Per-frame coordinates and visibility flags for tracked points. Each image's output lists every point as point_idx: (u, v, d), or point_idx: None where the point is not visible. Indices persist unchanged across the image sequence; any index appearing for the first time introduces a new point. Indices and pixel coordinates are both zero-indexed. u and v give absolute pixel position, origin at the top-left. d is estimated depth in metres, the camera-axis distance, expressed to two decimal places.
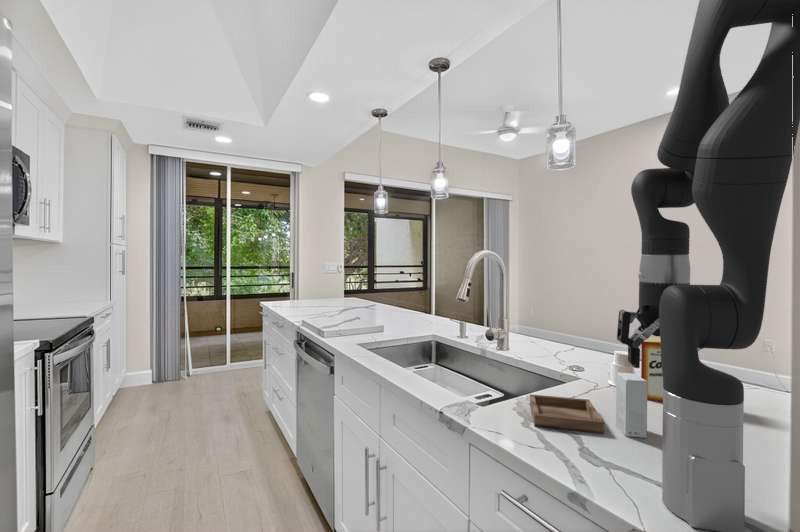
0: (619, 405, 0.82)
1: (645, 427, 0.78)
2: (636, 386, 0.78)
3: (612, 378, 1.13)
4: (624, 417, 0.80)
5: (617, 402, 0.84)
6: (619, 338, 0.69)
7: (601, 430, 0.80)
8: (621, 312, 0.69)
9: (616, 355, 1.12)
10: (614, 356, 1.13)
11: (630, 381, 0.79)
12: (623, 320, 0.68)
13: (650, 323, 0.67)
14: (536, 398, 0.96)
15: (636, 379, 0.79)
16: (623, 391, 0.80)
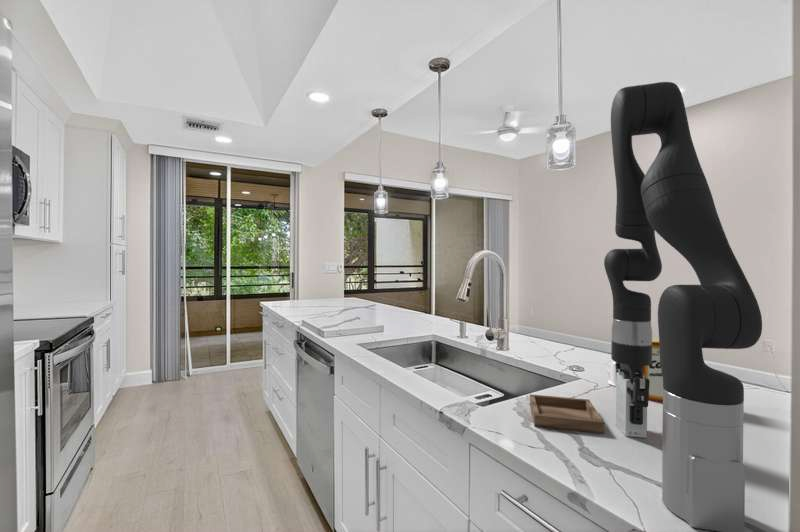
0: (619, 405, 0.82)
1: (645, 427, 0.78)
2: None
3: (612, 378, 1.13)
4: (624, 417, 0.80)
5: (617, 402, 0.84)
6: (642, 403, 0.75)
7: (601, 430, 0.80)
8: (642, 381, 0.75)
9: None
10: None
11: None
12: (648, 387, 0.75)
13: None
14: (536, 398, 0.96)
15: None
16: (623, 391, 0.80)
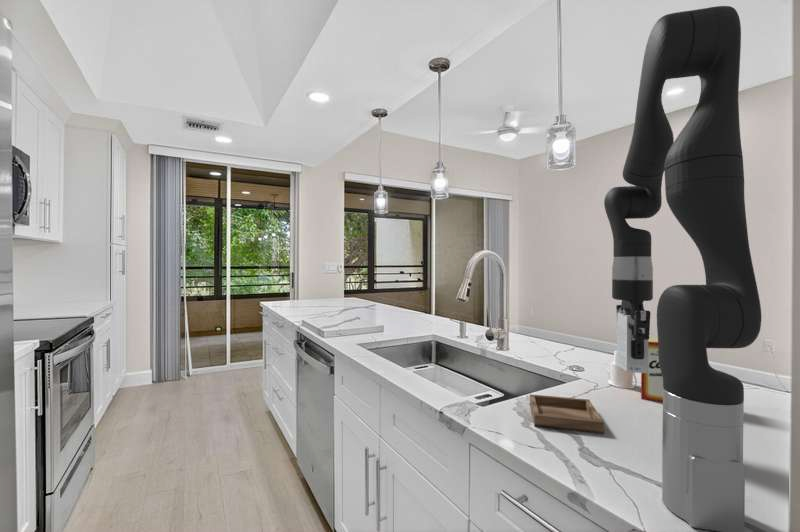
0: (620, 343, 0.82)
1: (646, 362, 0.78)
2: None
3: (612, 378, 1.13)
4: (625, 353, 0.79)
5: (618, 341, 0.84)
6: (643, 336, 0.75)
7: (601, 430, 0.80)
8: (643, 313, 0.75)
9: (616, 355, 1.12)
10: (614, 356, 1.13)
11: None
12: (649, 319, 0.75)
13: None
14: (536, 398, 0.96)
15: None
16: (623, 328, 0.80)
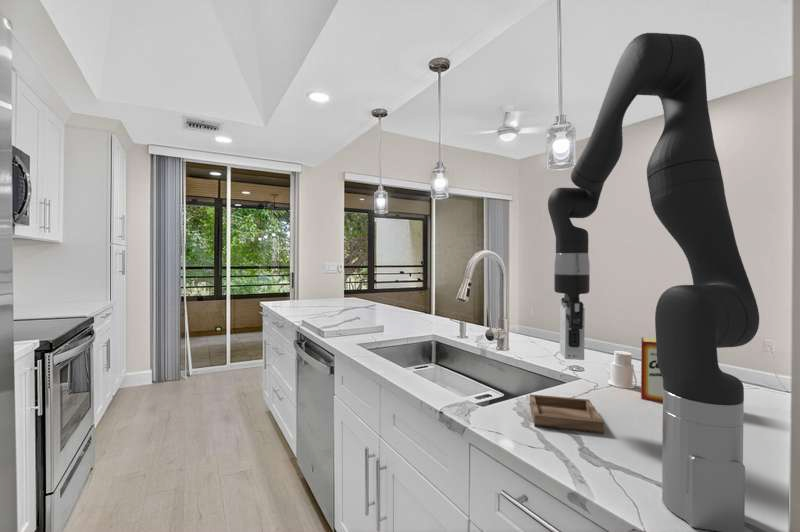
0: (561, 333, 0.89)
1: (582, 350, 0.85)
2: None
3: (612, 378, 1.13)
4: (564, 342, 0.86)
5: (560, 331, 0.91)
6: (577, 325, 0.82)
7: (601, 430, 0.80)
8: (576, 304, 0.82)
9: (616, 355, 1.12)
10: (614, 356, 1.13)
11: None
12: (582, 310, 0.81)
13: None
14: (536, 398, 0.96)
15: None
16: (563, 318, 0.87)
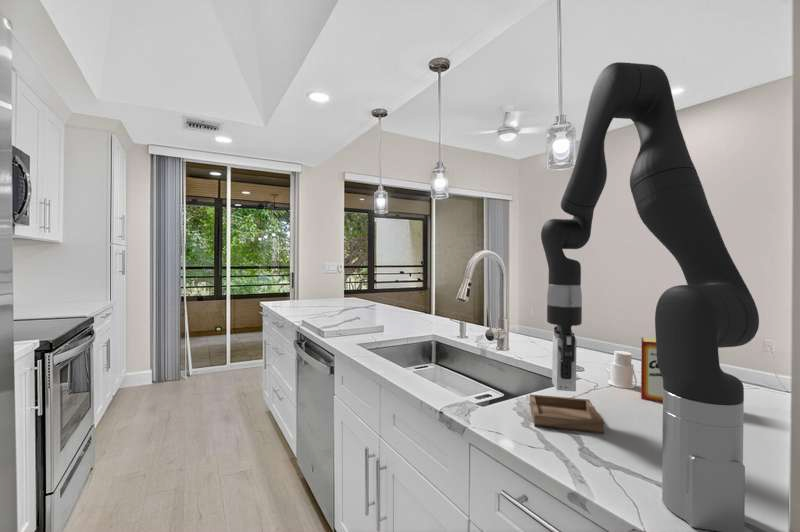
0: (554, 363, 0.89)
1: (574, 381, 0.85)
2: None
3: (612, 378, 1.13)
4: (556, 373, 0.87)
5: (552, 361, 0.91)
6: (569, 358, 0.82)
7: (601, 430, 0.80)
8: (568, 338, 0.82)
9: (616, 355, 1.12)
10: (614, 356, 1.13)
11: None
12: (574, 344, 0.82)
13: None
14: (536, 398, 0.96)
15: None
16: (555, 349, 0.88)
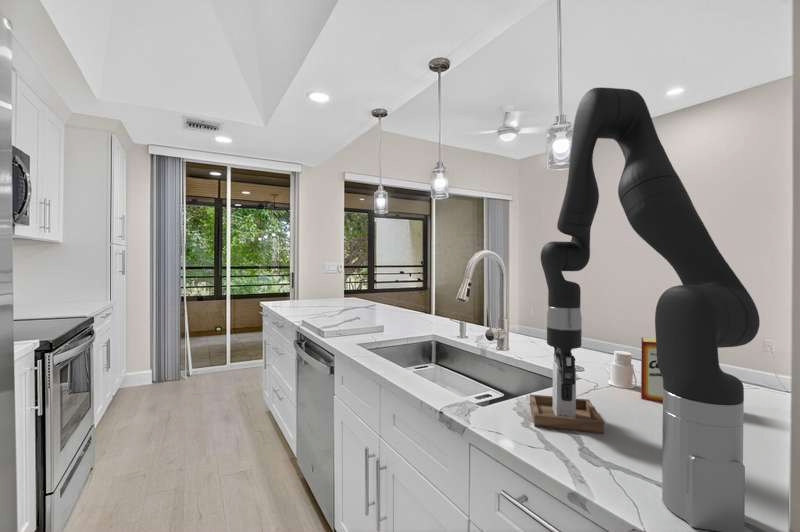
0: (554, 391, 0.90)
1: (574, 410, 0.85)
2: None
3: (612, 378, 1.13)
4: (556, 401, 0.87)
5: (553, 388, 0.91)
6: (570, 381, 0.82)
7: (601, 430, 0.80)
8: (568, 358, 0.82)
9: (616, 355, 1.12)
10: (614, 356, 1.13)
11: (561, 368, 0.86)
12: (574, 365, 0.82)
13: None
14: (536, 398, 0.96)
15: None
16: (555, 377, 0.88)
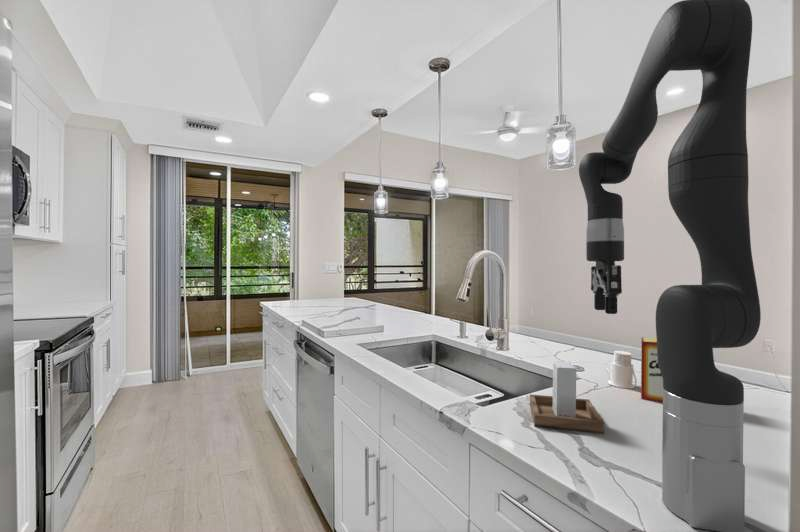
0: (554, 391, 0.90)
1: (574, 410, 0.85)
2: (566, 373, 0.86)
3: (612, 378, 1.13)
4: (556, 401, 0.87)
5: (553, 388, 0.91)
6: (616, 290, 0.78)
7: (601, 430, 0.80)
8: (614, 267, 0.78)
9: (616, 355, 1.12)
10: (614, 356, 1.13)
11: (561, 368, 0.86)
12: (620, 273, 0.78)
13: None
14: (536, 398, 0.96)
15: (567, 367, 0.87)
16: (555, 377, 0.88)
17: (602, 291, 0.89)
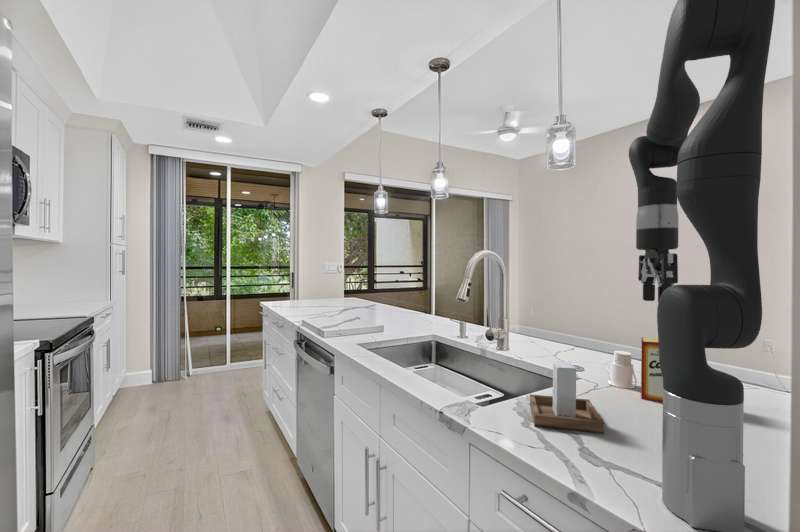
0: (554, 391, 0.90)
1: (574, 410, 0.85)
2: (566, 373, 0.86)
3: (612, 378, 1.13)
4: (556, 401, 0.87)
5: (553, 388, 0.91)
6: (672, 279, 0.74)
7: (601, 430, 0.80)
8: (670, 255, 0.74)
9: (616, 355, 1.12)
10: (614, 356, 1.13)
11: (561, 368, 0.86)
12: (677, 261, 0.74)
13: None
14: (536, 398, 0.96)
15: (567, 367, 0.87)
16: (555, 377, 0.88)
17: (651, 281, 0.85)
